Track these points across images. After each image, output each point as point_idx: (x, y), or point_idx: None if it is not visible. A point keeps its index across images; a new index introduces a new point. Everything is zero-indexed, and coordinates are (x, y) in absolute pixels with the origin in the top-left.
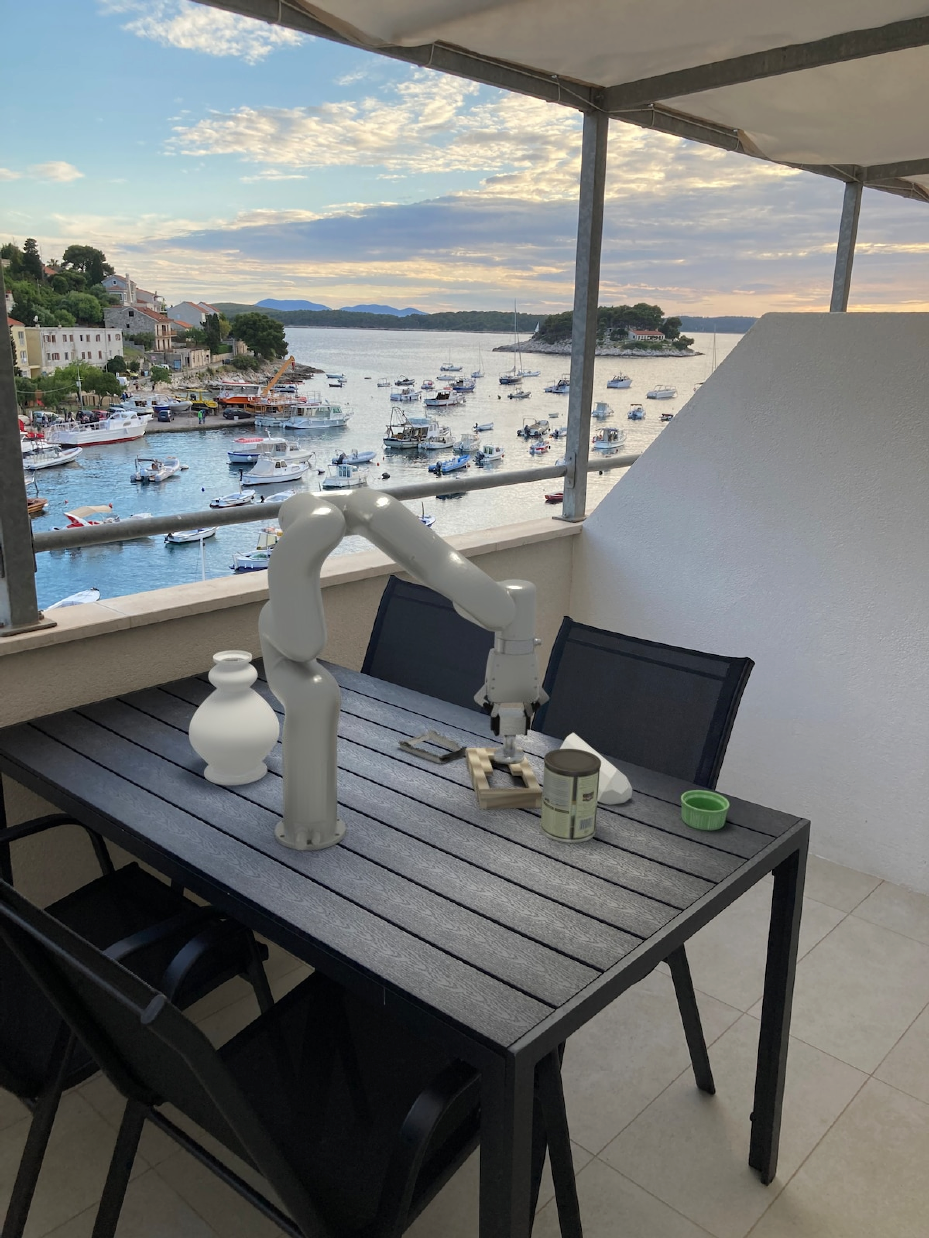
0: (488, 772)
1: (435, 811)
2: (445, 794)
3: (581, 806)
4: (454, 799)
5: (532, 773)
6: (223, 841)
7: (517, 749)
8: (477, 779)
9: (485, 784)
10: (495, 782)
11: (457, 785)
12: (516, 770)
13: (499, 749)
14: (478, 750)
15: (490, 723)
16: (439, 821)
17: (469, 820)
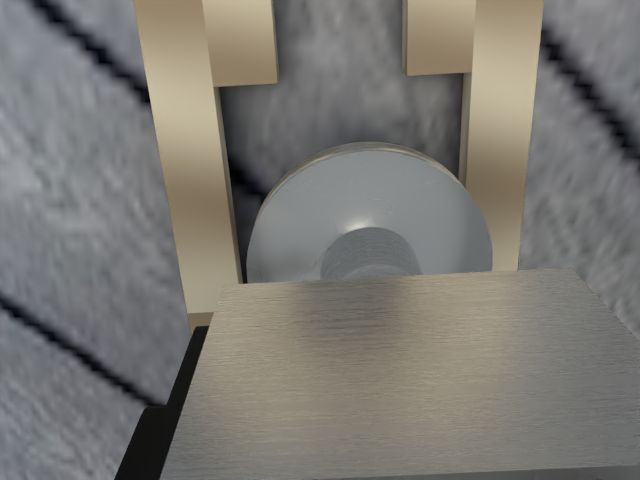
0: (246, 83)
1: (13, 334)
2: (32, 175)
3: None
4: (84, 227)
5: (525, 112)
6: None
7: (455, 198)
8: (174, 199)
9: (220, 261)
10: (302, 21)
11: (82, 64)
12: (432, 66)
13: (299, 199)
14: None
15: (132, 445)
16: (44, 406)
17: (164, 398)
